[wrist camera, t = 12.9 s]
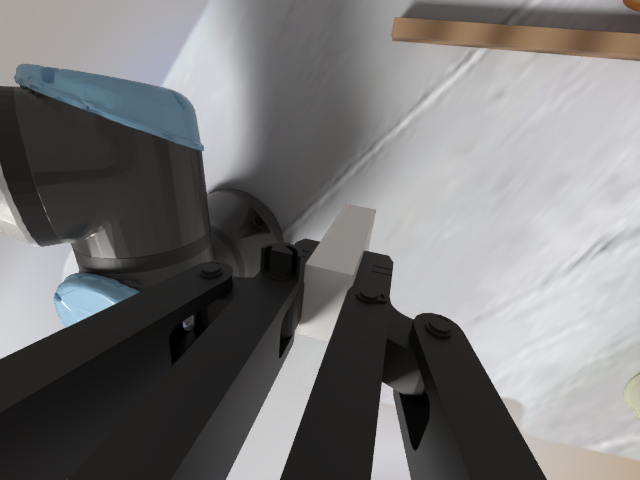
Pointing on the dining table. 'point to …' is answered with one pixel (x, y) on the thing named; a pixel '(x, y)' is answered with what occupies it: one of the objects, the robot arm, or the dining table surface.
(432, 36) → the open-ended frame
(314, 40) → the dining table surface
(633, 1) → the toy sandwich meal
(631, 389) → the can
